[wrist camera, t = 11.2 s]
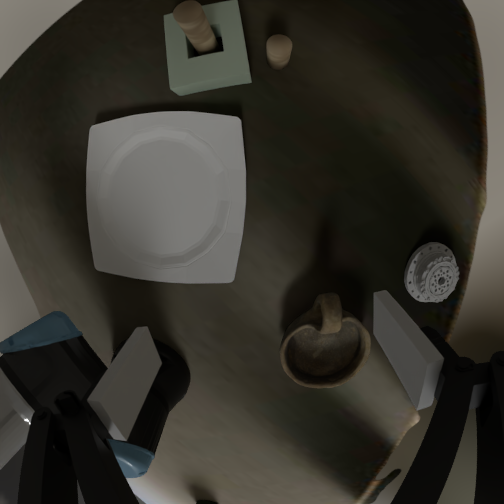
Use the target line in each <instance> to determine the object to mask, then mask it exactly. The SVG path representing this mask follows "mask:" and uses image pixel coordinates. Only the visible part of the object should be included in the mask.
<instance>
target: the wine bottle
mask: <svg viewBox="0 0 504 504" xmlns="http://www.w3.org/2000/svg"><path fill="white" fill-rule="evenodd" d="M196 504H217V503H215V502H212V501H207V500H200V501H197V503H196Z"/></svg>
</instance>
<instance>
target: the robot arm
mask: <svg viewBox="0 0 504 504" xmlns="http://www.w3.org/2000/svg"><path fill="white" fill-rule="evenodd" d="M373 334H374V335H375V337H376V339H377V340H378V342H379V344H380V346H381V347H382V349H383V351H384V352H385V354H386V356H387V358H388V359H389V361H390V363H391V365H392V366H393V368H394V370H395V372H396V373H397V375H398V377H399V379H400V381H401V382H402V384H403V386H404V388H405V390H406V391H407V393H408V395H409V397H410V399H411V401H412V403H413V404H414V406H415V408H416V410H420V409H423V408H425V407H428V406H431V405H432V402H433V399H434V396H435V398H436V400H437V401H438V402H437V405H436V408H435V411H434V413H433V416H432V419H431V422H430V424H429V427H428V429H427V432H426V434H425V436H424V439H423V441H422V444H421V446H420V448H419V450H418V453H417V455H416V457H415V459H414V461H413V463H412V466H411V467H410V469H409V471H408V473H407V475H406V477H405V479H404V481H403V483H402V485H401V486H400V489H399V490H398V492H397V494H396V495H395V497H394V499H393V501H392V502H391V504H437V502H438V499H439V497H440V495H441V492H442V490H443V488H444V486H445V483H446V481H447V478H448V475H449V473H450V470H451V468H452V465H453V462H454V459H455V456H456V453H457V450H458V447H459V444H460V441H461V437H462V434H463V430H464V426H465V423H466V419H467V414H468V411H469V409H472V408H476V421H477V474H476V488H475V498H474V504H504V351H499V352H496V353H494V354H493V355H492V357H491V359H490V362H486V363H479V364H475V362H474V361H473V360H471V359H470V358H467V357H459V356H458V355H457V354H456V352H455V351H454V350H453V349H452V348H451V347H450V345H449V344H448V343H447V342H445V340H444V339H443V338H442V337H441V335H440V334H439V333H438V332H437V331H436V330H435V329H433V328H431V327H429V326H426V327H423V328H419V327H418V326H417V325H416V324H415V322H414V321H413V320H412V319H411V318H410V317H409V315H408V314H407V313H406V312H405V311H404V310H403V309H402V307H401V306H400V305H399V304H398V303H397V302H396V301H395V300H394V298H393V297H392V296H391V295H390V294H389V293H388V292H387V291H386V290H384V291H379V292H375V293H374V331H373ZM82 335H83V334H82V332H80V331H79V330H78V329H77V328H76V327H75V325H74V324H73V323H72V321H71V320H70V319H69V317H68V316H67V315H66V314H65V313H63V312H61V311H54V312H51V313H49V314H48V315H46V316H44V317H42V318H41V319H39V320H37V321H36V322H34V323H32V324H30V325H29V326H27V327H25V328H24V329H22V330H20V331H19V332H17V333H15V334H14V335H12V336H10V337H9V338H7V339H5V340H4V341H2V342H0V352H1V353H3V355H2V356H1V357H0V469H1V468H2V467H3V466H4V465H5V464H6V463H7V462H8V461H9V460H10V459H11V458H12V457H13V456H14V454H15V453H16V452H17V451H18V450H19V449H20V448H21V447H22V446H23V445H24V444H25V443H26V445H25V450H24V456H23V463H22V468H21V475H20V483H19V492H18V504H78V491H77V480H78V483H79V486H80V489H81V492H82V495H83V498H84V501H85V503H86V504H139V502H138V500H137V499H136V497H135V495H134V493H133V491H132V489H131V488H130V486H129V484H128V482H127V480H126V478H137V477H140V476H142V475H144V474H145V473H146V472H147V470H148V468H149V466H150V464H151V461H152V460H153V459H154V457H155V452H156V449H157V446H158V443H159V440H160V437H161V434H162V431H163V428H164V425H165V422H166V419H167V417H168V414H169V412H170V411H171V410H172V409H173V407H174V406H175V405H176V404H177V403H178V402H179V401H180V400H181V399H182V398H183V397H184V396H185V394H186V393H187V390H188V387H189V384H190V373H189V369H188V367H187V365H186V363H185V362H184V360H183V359H182V358H181V357H180V356H179V355H178V354H177V353H176V352H175V351H174V350H173V349H171V348H170V347H168V346H167V345H165V344H163V343H161V342H159V341H156V340H153V339H152V337H151V334H150V332H149V329H148V326H146V327H137V328H136V329H135V330H134V332H133V333H132V335H131V336H130V337H129V339H127V340H125V341H124V342H122V343H121V344H120V345H119V347H118V348H117V349H116V351H115V352H114V354H113V357H112V361H111V365H110V366H109V368H107V367H106V366H105V364H104V363H103V362H102V361H101V359H100V358H99V357H98V356H97V354H96V353H95V352H94V350H93V349H92V348H91V347H90V345H89V344H88V343H87V341H86V340H85V339H84V337H83V336H82Z"/></svg>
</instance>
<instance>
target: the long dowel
mask: <svg viewBox="0 0 504 504" xmlns="http://www.w3.org/2000/svg"><path fill="white" fill-rule="evenodd" d="M173 17H174V19H175V20H176V22H177V23H178V24H179V26H180V27H181V29H182V30H183V32H184V33H185V34H186V36H187V37H188V39H189V40H190V42H191V43H192V45H193V46H194V48H195V49H196V51H197V52H198V54H199V55H200V56H202V55H207V54H212V53H217V52H221V50H220V47H219V45H218V42H217V40H216V38H215V35H214V33H213V31H212V29H211V26H210V24H209V22H208V20H207V17H206V15H205V13H204V11H203V9H202V6H201V5H200V3H198V2H197V1H193V0H189V1H184V2H182V3H180V4H179V5H177V6H176V8H175V9H174V11H173Z"/></svg>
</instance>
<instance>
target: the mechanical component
mask: <svg viewBox="0 0 504 504" xmlns="http://www.w3.org/2000/svg"><path fill="white" fill-rule="evenodd" d="M458 275H459V272H458V267H457V264H456V262H455V257H454V255H453V253H452V251H451V250H450V249H449V248H448V247H446V246H445V245H443V244H441V243H438V242H430V243H427V244H425V245H422V246H421V247H419V248H418V249H417V250H416V251H415V252H414V253H413V254H412V256H411V258H410V259H409V261H408V263H407V266H406V269H405V276H404V281H405V286H406V289H407V291H408V292H409V293H410V295H411V296H412V297H414V298H415V299H416V300H418V301H420V302H430V301H431V302H439V301H443V299H444V298H445V299H447V297H448V295H449V294H450V293H451V292H452V291H454V290H455V288H454V287H455V285H456V283H457V280H459V278H458Z"/></svg>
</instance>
